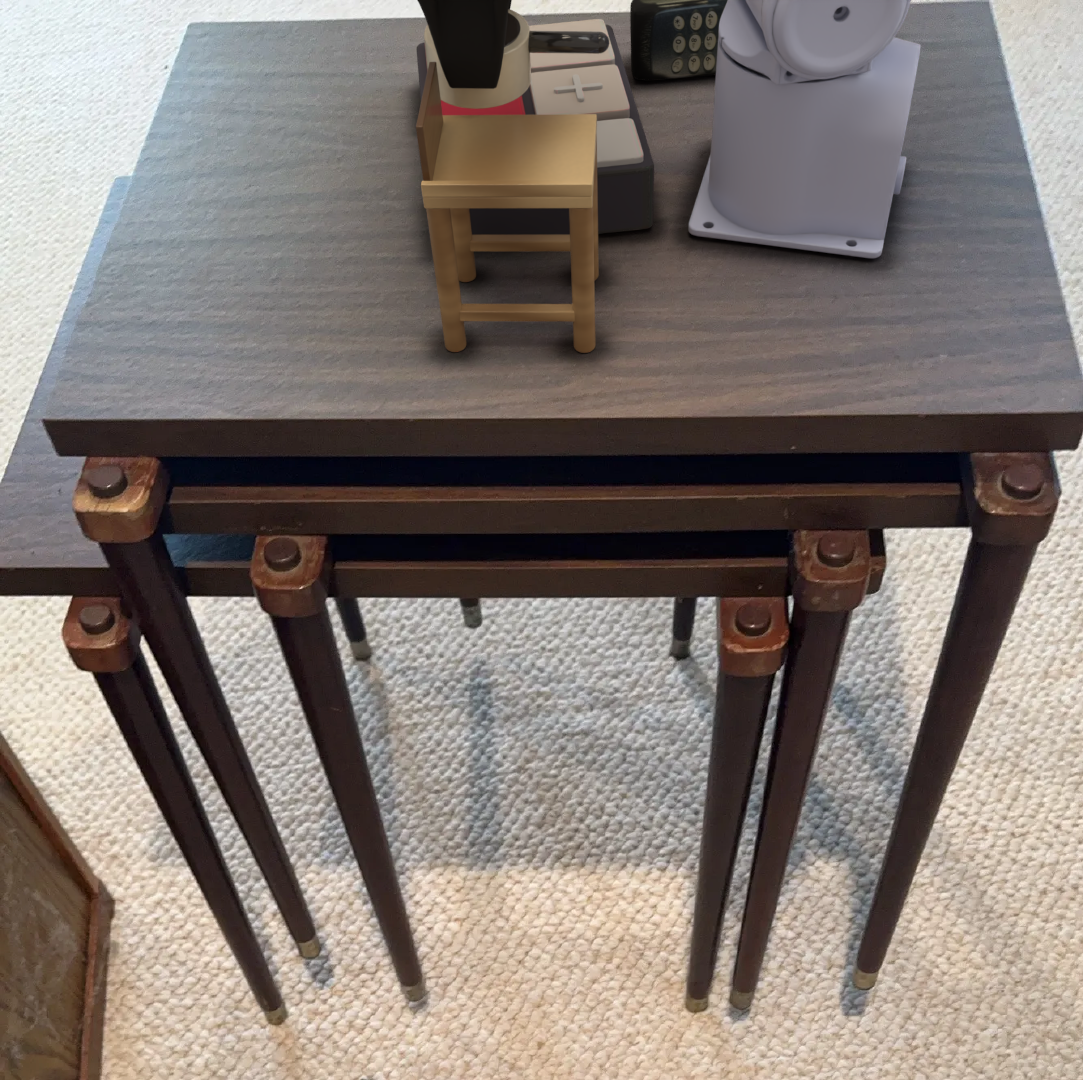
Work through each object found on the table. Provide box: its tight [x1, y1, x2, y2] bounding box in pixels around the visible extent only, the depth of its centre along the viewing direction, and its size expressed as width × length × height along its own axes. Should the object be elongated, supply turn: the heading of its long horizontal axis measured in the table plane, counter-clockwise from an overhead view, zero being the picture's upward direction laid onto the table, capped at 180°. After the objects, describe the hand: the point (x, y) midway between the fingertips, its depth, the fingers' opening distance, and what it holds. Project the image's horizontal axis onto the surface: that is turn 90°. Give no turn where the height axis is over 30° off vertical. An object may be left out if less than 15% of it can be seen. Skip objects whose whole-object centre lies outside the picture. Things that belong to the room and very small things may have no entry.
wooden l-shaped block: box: [415, 62, 597, 210], centre depth 54 cm, size 7×6×4 cm
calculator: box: [416, 18, 655, 235], centre depth 67 cm, size 11×4×15 cm
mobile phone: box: [629, 0, 728, 81], centre depth 72 cm, size 5×3×15 cm
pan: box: [423, 8, 609, 109], centre depth 56 cm, size 8×5×2 cm, turn 86°
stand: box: [425, 134, 600, 354], centre depth 58 cm, size 7×6×8 cm
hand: (479, 51), depth 56 cm, fingers closed on pan, 4 cm apart
